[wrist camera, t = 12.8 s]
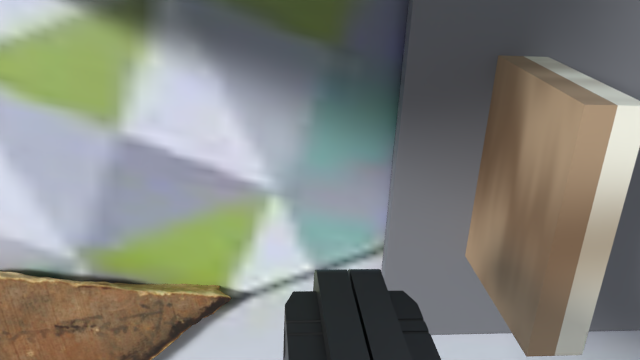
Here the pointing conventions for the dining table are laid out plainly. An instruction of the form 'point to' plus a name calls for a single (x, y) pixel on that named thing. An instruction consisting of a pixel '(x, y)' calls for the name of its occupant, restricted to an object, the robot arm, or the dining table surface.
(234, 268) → the dining table surface
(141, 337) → the shard
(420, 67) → the mat
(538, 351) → the slab
